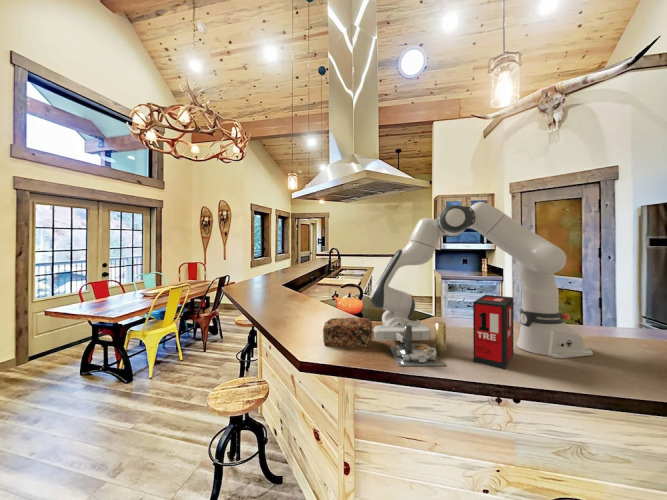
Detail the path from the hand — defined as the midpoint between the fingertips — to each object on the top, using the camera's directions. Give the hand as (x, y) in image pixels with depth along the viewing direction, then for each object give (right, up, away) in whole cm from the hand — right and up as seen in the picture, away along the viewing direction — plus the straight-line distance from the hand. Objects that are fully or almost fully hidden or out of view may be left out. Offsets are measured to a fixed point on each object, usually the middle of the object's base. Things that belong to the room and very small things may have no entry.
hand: (406, 340), depth 96 cm
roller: (+13, -6, +4) cm, 15 cm away
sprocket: (+4, -6, +2) cm, 8 cm away
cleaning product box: (+30, -6, 0) cm, 31 cm away
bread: (-19, -7, +17) cm, 26 cm away
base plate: (+4, -6, +2) cm, 8 cm away
